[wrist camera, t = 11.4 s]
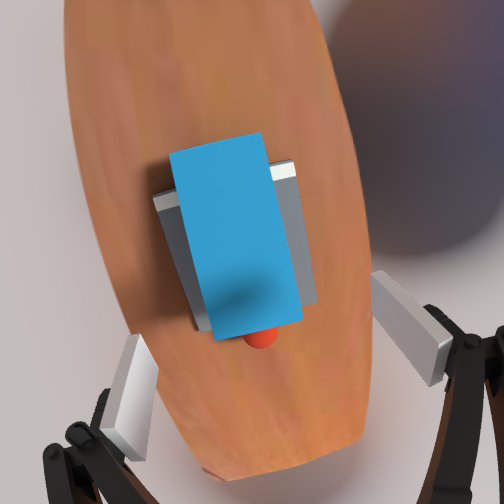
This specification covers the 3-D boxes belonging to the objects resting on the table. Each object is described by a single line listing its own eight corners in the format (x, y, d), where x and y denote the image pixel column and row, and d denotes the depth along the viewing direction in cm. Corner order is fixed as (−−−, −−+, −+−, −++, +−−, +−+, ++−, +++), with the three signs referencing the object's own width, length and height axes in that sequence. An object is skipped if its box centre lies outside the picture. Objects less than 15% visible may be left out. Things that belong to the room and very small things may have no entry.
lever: (183, 169, 28) (228, 347, 30) (168, 153, 21) (227, 381, 23) (254, 153, 28) (294, 331, 30) (260, 132, 21) (311, 360, 23)
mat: (153, 194, 25) (152, 196, 24) (290, 159, 25) (292, 159, 24) (200, 329, 30) (200, 333, 29) (315, 299, 30) (317, 302, 29)
